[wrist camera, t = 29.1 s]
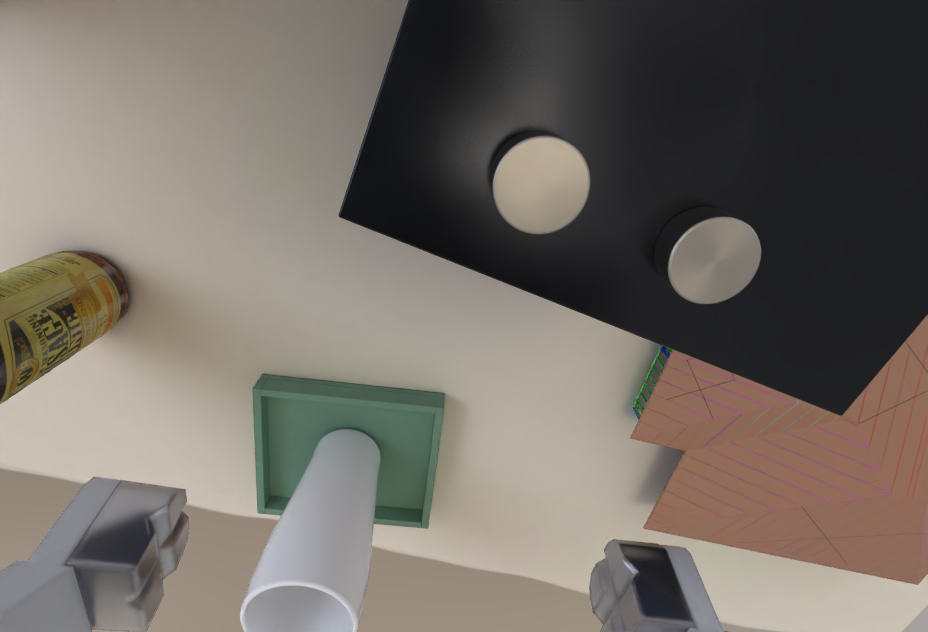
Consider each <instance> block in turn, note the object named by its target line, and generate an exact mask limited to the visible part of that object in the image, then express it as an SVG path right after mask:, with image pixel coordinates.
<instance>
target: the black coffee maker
mask: <svg viewBox="0 0 928 632" xmlns="http://www.w3.org/2000/svg"><path fill="white" fill-rule="evenodd" d="M339 217H340V218H343V219H345V220H348V221H350V222H353V223H355V224H358V225H360V226H363V227H365V228H368V229H370V230H373V231H375V232H378V233H381V234H383V235H386V236H388V237H391V238H393V239H396V240H398V241H401V242H403V243H406V244H408V245H411V246H413V247H416V248H418V249H421V250H423V251H426V252H428V253H431V254H433V255H436V256H438V257H441V258H444V259H446V260H449V261H451V262H454V263H456V264H459V265H461V266H464V267H466V268H469V269H471V270H474V271H476V272H479V273H481V274H484V275H486V276H489V277H491V278H494V279H496V280H499V281H502V282H504V283H507V284H509V285H512V286H514V287H517V288H519V289H522V290H524V291H527V292H529V293H532V294H534V295H537V296H539V297H542V298H544V299H547V300H549V301H552V302H554V303H557V304H559V305H562V306H565V307H567V308H570V309H572V310H575V311H577V312H580V313H582V314H585V315H587V316H590V317H592V318H595V319H597V320H600V321H602V322H605V323H607V324H610V325H612V326H615V327H617V328H620V329H622V330H625V331H628V332H630V333H633V334H635V335H638V336H640V337H643V338H645V339H648V340H650V341H653V342H655V343H658V344H660V345H663V346H665V347H668V348H670V349H673V350H675V351H678V352H680V353H683V354H685V355H688V356H691V357H693V358H696V359H698V360H701V361H703V362H706V363H708V364H711V365H713V366H716V367H718V368H721V369H723V370H726V371H728V372H731V373H733V374H736V375H738V376H741V377H743V378H746V379H749V380H751V381H754V382H756V383H759V384H761V385H764V386H766V387H769V388H771V389H774V390H776V391H779V392H781V393H784V394H786V395H789V396H791V397H794V398H796V399H799V400H801V401H804V402H806V403H809V404H812V405H814V406H817V407H819V408H822V409H824V410H827V411H829V412H832V413H834V414H837V415H839V416H842V415H843V414H844V413H845V412H846V411H847V410H848V408H849V407H850V406H851V405H852V404H853V403H854V401H855V400H856V399H857V398H858V397H859V395H860V394H861V393H862V392H863V391H864V390H865V388H866V387H867V386H868V385H869V384H870V382H871V381H872V380H873V379H874V378H875V377H876V375H877V374H878V373H879V372H880V371H881V369H882V368H883V367H884V366H885V365H886V364H887V362H888V361H889V360H890V359H891V358H892V356H893V355H894V354H895V353H896V352H897V351H898V349H899V348H900V347H901V346H902V345H903V343H904V342H905V341H906V340H907V339H908V338H909V336H910V335H911V334H912V333H913V332H914V330H915V329H916V328H917V327H918V326H919V325H920V323H921V322H922V321H923V320H924V319H925V317H926V316H927V315H928V0H409V1H408V4H407V7H406V10H405V13H404V16H403V19H402V23H401V26H400V29H399V32H398V35H397V38H396V41H395V44H394V47H393V50H392V53H391V56H390V59H389V62H388V65H387V68H386V71H385V75H384V78H383V81H382V84H381V87H380V90H379V93H378V96H377V99H376V102H375V105H374V108H373V111H372V114H371V117H370V120H369V123H368V126H367V130H366V133H365V136H364V139H363V142H362V145H361V148H360V151H359V154H358V157H357V160H356V163H355V166H354V169H353V172H352V175H351V178H350V181H349V185H348V188H347V191H346V194H345V197H344V200H343V203H342V206H341V209H340V212H339Z"/></svg>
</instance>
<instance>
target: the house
mask: <svg viewBox="0 0 928 632" xmlns="http://www.w3.org/2000/svg"><path fill="white" fill-rule="evenodd" d="M661 349H662V351H663V352H664V353H665V355H666V356H667V358H668V360H667V363H666V365H665V366H664V365H663V363H662V362H661V361H660V359H659V358H658V356H659V354H660V351H661ZM666 349H669V351H670V352H671V354H669V353H668V352H667V350H666ZM657 359H658V360H659V362H660V363H661V365H662V366H663V370H662V372H661V374H660V375H659V373H658V372H657V370H656V369H655V367H654V364H655V362H656V360H657ZM652 368H654V370H655V371H656V373H657V374H658V376H659V379H658V381H657V383H656V384H655V382H654V381H653V379H652V378H651V376H650V373H651V370H652ZM648 377H650V379H651V381H652V382H653V384H654V385H655V387H654V389H653V391H652V393H651V392H650V390H649V388H648V387H647V385H646V381H647V379H648ZM644 385H645V386H646V388H647V390H648V391H649V393H650V395H651V396H650V398H649V400H648V402H647V401H646V399H645V397H644V395H643V394H642V389H643V387H644ZM640 394H641V395H642V397H643V399H644V400H645V402H646V405H645V408H641V406H640V404H639V402H638V398H639V396H640ZM636 402H637V404H638V405H639V407H635V404H636ZM632 408H633V410H634V412H635V414H636V415H637V417H638V419H639V420H638V422H637V425H636V427H635V429H634V431H633V433H632V435H631V437H630V438H631V439H635V440H640V441H644V442H648V443H653V444H657V445H662V446H666V447H671V448H675V449H680V450H684V453H683V455H682V457H681V459H680V460H679V462H678V464H677V466H676V468H675V470H674V472H673V473H672V475H671V477H670V479H669V481H668V483H667V484H666V486H665V488H664V490H663V492H662V494H661V496H660V497H659V499H658V501H657V503H656V505H655V507H654V508H653V510H652V512H651V514H650V516H649V518H648V520H647V521H646V523H645V525H644V529H649V530H653V531H658V532H663V533H668V534H673V535H678V536H683V537H688V538H692V539H697V540H702V541H707V542H712V543H717V544H722V545H727V546H731V547H736V548H741V549H746V550H751V551H756V552H761V553H765V554H770V555H775V556H780V557H785V558H790V559H795V560H800V561H804V562H809V563H814V564H819V565H824V566H829V567H834V568H839V569H843V570H848V571H853V572H858V573H863V574H868V575H873V576H877V577H882V578H887V579H892V580H897V581H902V582H907V583H912V584H916V585H918V584H919V583H920V582H921V581H922V580H923V578H924V577H925V576H926V575H927V574H928V315H927V316H926V317H925V319H924V320H923V321H922V322H921V323H920V325H919V326H918V327H917V328H916V329H915V330H914V332H913V333H912V334H911V335H910V336H909V338H908V339H907V340H906V341H905V342H904V343H903V345H902V346H901V347H900V348H899V349H898V351H897V352H896V353H895V354H894V355H893V356H892V358H891V359H890V360H889V361H888V362H887V364H886V365H885V366H884V367H883V368H882V369H881V371H880V372H879V373H878V374H877V375H876V377H875V378H874V379H873V380H872V381H871V382H870V384H869V385H868V386H867V387H866V388H865V390H864V391H863V392H862V393H861V394H860V395H859V397H858V398H857V399H856V400H855V401H854V403H853V404H852V405H851V406H850V407H849V408H848V410H847V411H846V412H845V413H844V414H843V415H842V416H839V415H837V414H834V413H832V412H829V411H827V410H824V409H822V408H819V407H817V406H814V405H812V404H809V403H806V402H804V401H801V400H799V399H796V398H794V397H791V396H789V395H786V394H784V393H781V392H779V391H776V390H774V389H771V388H769V387H766V386H764V385H761V384H759V383H756V382H754V381H751V380H749V379H746V378H743V377H741V376H738V375H736V374H733V373H731V372H728V371H726V370H723V369H721V368H718V367H716V366H713V365H711V364H708V363H706V362H703V361H701V360H698V359H696V358H693V357H691V356H688V355H685V354H683V353H680V352H678V351H675V350H673V349H670V348H668V347H664V346H663V345H661V347H660V349H659V351H658V354H657V356H656V358H655V360H654V362H653V364H652V366H651V368H650V371H649V373H648V375H647V377H646V379H645V381H644V383H643V385H642V387H641V390H640V392H639V394H638V396H637V398H636V400H635V402H634V404H633V407H632ZM636 408H637V409H641V411H642V414H641V416H640V415H639V413H638V412H637V410H636Z"/></svg>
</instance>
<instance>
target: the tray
mask: <svg viewBox="0 0 928 632" xmlns="http://www.w3.org/2000/svg"><path fill="white" fill-rule="evenodd" d="M444 398H445V394H444V393H435V392H426V391H416V390H407V389H397V388H388V387H378V386H369V385H359V384H350V383H340V382H331V381H321V380H311V379H302V378H292V377H283V376H273V375H264V374H262V375H261V377H260V379H259V380H258V381H257V383H256V384H255V386H254V387H253V409H254V433H255V458H256V483H257V508H258V513H261V514H272V515H282V513H283V511H284V509H285V507H286V506H287V504H288V502H289V500H290V498H291V496H292V494H293V492H294V491H295V489H296V487H297V485H298V483H299V481H300V479H301V477H302V476H303V474H304V472H305V470H306V468H307V466H308V464H309V462H310V460H311V458H312V455H313V453H314V450H315V448H316V446H317V444H318V442H319V441H320V440H321V439H322V438H323V437H324V436H325V435H327V434H328V433H330V432H332V431H335V430H339V429H353V430H357V431H360V432H363V433H365V434H366V435H368V436H369V437H370V438H372V439H373V440H374V442H375V443H376V444H377V446H378V448H379V450H380V454H381V464H380V469H379V474H378V482H377V493H376V504H375V516H374V524H383V525H394V526H406V527H417V528H427V529H428V525H429V517H430V510H431V502H432V495H433V487H434V480H435V472H436V465H437V457H438V450H439V442H440V435H441V427H442V420H443V412H444Z"/></svg>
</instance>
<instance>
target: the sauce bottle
mask: <svg viewBox="0 0 928 632" xmlns="http://www.w3.org/2000/svg"><path fill="white" fill-rule="evenodd" d="M128 300H129V299H128V291H127V288H126V286H125V281H124V279H123V276H122V275H121V274H120V273H119V272H118V270H116V269H115V268H114V267H112V266H111V265H110V264H109V263H108V262H106V261H105V260H104V259H103V258H101V257H99V256H97V255H95V254H92V253H87V252H83V251H62V252H58V253H54V254H50V255H46V256H44V257H41V258H38V259H36V260H33V261H30V262H28V263H25V264H22V265H20V266H17V267H15V268H12V269H10V270H7V271H4V272H2V273H0V404H1V403H3V402H4V401H6V400H7V399H9V398H10V397H11V396H13V395H15V394H16V393H18V392H19V391H21V390H22V389H23V388H25V387H26V386H28V385H30V384H31V383H32V382H34V381H36V380H37V379H39V378H40V377H42V376H43V375H44V374H46V373H48V372H50V371H51V370H52V369H53V368H55V367H56V366H58V365H59V364H61V363H62V362H64V361H66V360H67V359H69V358H70V357H71V356H73V355H74V354H76V353H77V352H78V351H80V350H81V349H83V348H84V347H86V346H88V345H89V344H91V343H92V342H94V341H95V340H96V339H98V338H99V337H101V336H102V335H104V334H105V333H107V332H108V331H109V330H110V329H112V328H113V326H114V325H115V324H116V323H117V322H118V320H119V319H121V318H122V317H123V316H124V314H125V312H126V309H127V308H128Z"/></svg>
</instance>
